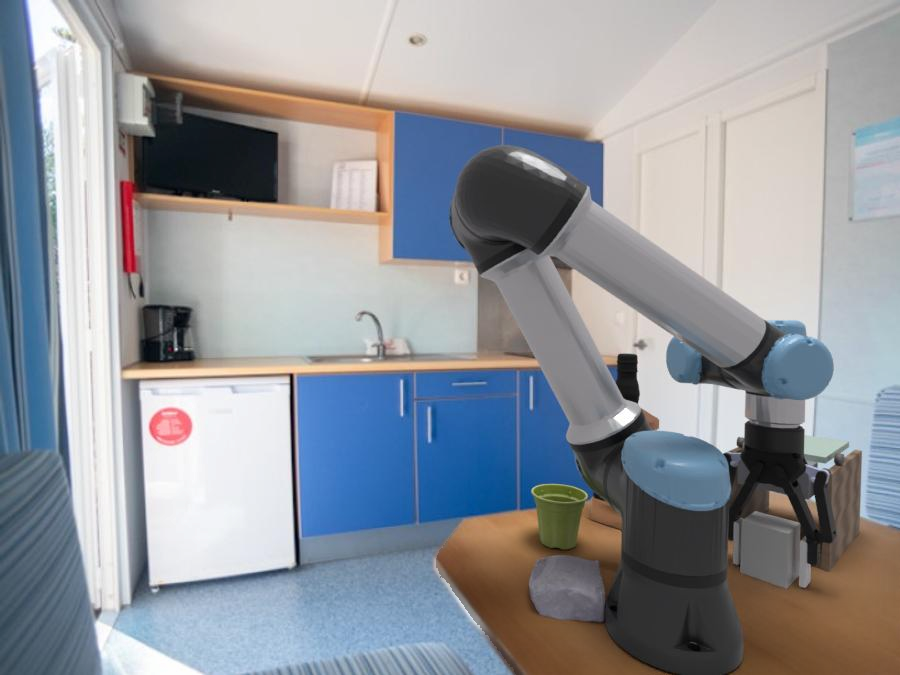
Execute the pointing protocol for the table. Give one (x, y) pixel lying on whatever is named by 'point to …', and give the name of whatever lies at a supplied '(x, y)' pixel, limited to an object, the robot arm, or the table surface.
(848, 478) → the trapdoor stand
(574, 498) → the plant pot
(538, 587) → the stone block
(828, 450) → the trapdoor
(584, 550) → the table surface
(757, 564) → the grey stone block
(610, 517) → the whiskey bottle
